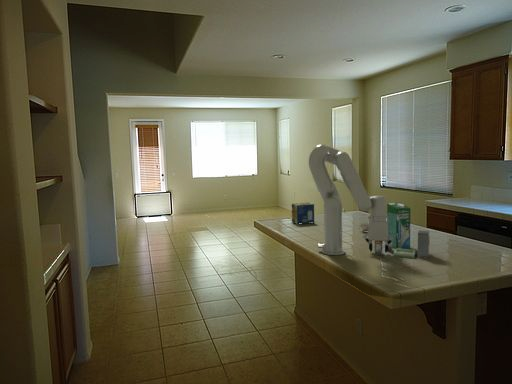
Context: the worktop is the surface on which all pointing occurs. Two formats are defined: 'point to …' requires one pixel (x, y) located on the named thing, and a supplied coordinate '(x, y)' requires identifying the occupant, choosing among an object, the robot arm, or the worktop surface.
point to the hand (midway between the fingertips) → (378, 251)
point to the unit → (423, 244)
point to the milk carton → (399, 224)
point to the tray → (404, 253)
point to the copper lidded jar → (378, 247)
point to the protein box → (302, 213)
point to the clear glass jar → (389, 245)
